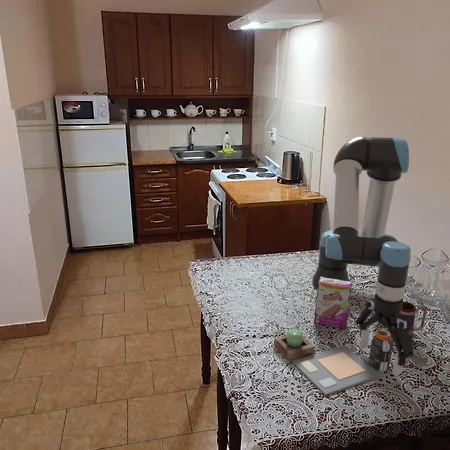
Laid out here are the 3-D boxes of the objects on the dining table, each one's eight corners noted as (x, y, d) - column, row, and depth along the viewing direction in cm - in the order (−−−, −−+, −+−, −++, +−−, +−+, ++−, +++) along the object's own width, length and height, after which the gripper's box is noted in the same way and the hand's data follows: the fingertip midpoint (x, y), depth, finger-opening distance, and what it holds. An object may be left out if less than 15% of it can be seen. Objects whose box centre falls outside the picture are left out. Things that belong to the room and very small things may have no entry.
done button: (296, 338, 138) (296, 327, 136) (304, 346, 134) (305, 335, 132) (283, 342, 136) (284, 331, 134) (291, 350, 132) (292, 339, 130)
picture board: (343, 346, 138) (344, 344, 137) (380, 376, 124) (381, 373, 124) (291, 362, 129) (292, 360, 129) (325, 395, 116) (325, 393, 115)
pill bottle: (390, 373, 125) (396, 339, 122) (369, 370, 126) (374, 337, 123) (387, 361, 131) (392, 328, 127) (367, 358, 132) (371, 326, 128)
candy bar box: (313, 324, 150) (317, 281, 145) (315, 317, 155) (319, 276, 150) (346, 330, 147) (351, 287, 142) (347, 323, 151) (352, 281, 146)
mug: (391, 340, 141) (396, 308, 138) (388, 329, 148) (393, 298, 144) (424, 344, 139) (430, 312, 136) (419, 333, 146) (425, 301, 142)
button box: (297, 339, 141) (297, 331, 140) (313, 354, 133) (314, 346, 132) (273, 346, 137) (274, 338, 136) (289, 361, 130) (290, 353, 129)
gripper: (349, 280, 130) (341, 341, 137) (415, 319, 109) (403, 389, 116) (367, 276, 133) (359, 335, 140) (436, 313, 112) (422, 381, 119)
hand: (379, 360), depth 128 cm, fingers open, 13 cm apart
